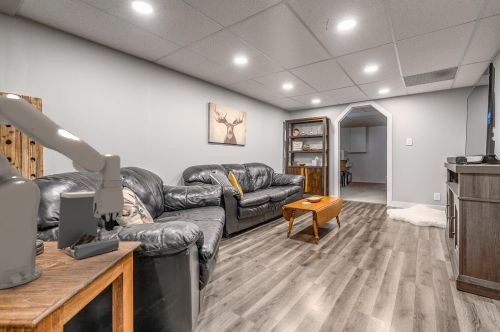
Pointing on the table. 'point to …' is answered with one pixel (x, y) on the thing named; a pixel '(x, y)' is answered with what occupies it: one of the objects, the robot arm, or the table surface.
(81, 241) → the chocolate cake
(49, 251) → the table surface
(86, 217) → the upright grey panel
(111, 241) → the long grey base block
